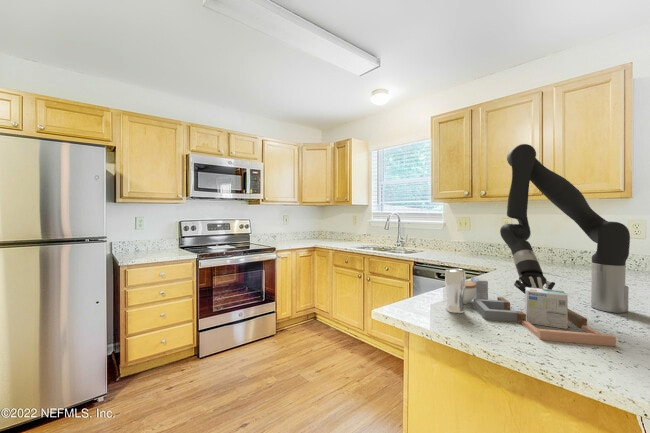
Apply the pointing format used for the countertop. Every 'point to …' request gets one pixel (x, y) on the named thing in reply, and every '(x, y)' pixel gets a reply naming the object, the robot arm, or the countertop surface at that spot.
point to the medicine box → (480, 288)
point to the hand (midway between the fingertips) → (542, 306)
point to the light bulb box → (546, 307)
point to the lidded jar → (469, 292)
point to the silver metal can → (455, 289)
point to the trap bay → (494, 310)
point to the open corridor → (572, 316)
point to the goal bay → (573, 335)
